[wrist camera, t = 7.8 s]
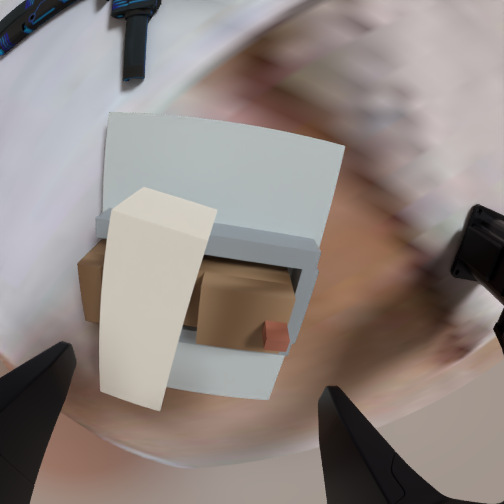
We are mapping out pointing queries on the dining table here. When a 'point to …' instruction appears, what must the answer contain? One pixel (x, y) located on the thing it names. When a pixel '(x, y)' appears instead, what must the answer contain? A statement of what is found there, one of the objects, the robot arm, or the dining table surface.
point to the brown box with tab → (218, 301)
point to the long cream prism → (148, 291)
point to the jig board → (230, 217)
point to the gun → (49, 3)
